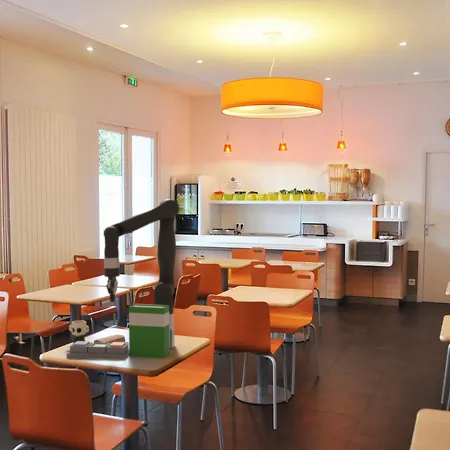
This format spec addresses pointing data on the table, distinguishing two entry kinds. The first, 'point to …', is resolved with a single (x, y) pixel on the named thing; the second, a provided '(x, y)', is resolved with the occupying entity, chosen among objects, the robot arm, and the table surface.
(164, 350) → the green cereal box
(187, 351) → the table surface
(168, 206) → the robot arm
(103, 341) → the packaged product
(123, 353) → the button panel
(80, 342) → the slate button
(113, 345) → the terracotta button
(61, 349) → the table surface
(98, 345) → the sage button
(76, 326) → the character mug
